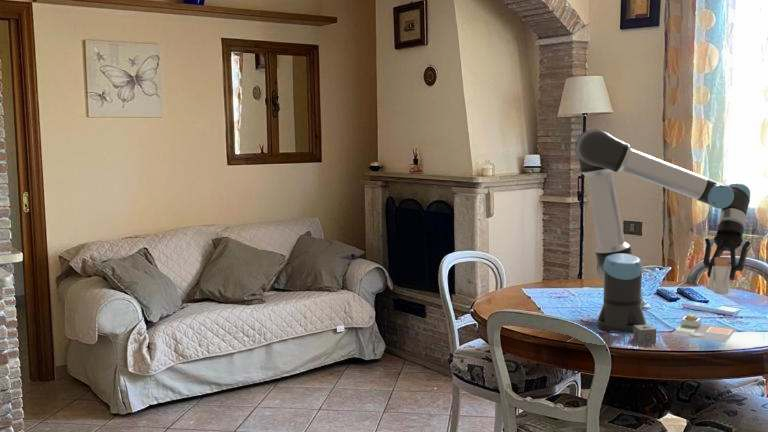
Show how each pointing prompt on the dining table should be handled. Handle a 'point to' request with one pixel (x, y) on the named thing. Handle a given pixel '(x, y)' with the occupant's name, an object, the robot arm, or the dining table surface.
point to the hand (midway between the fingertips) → (718, 286)
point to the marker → (720, 274)
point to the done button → (691, 317)
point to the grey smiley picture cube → (644, 333)
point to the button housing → (690, 322)
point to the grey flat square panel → (705, 332)
